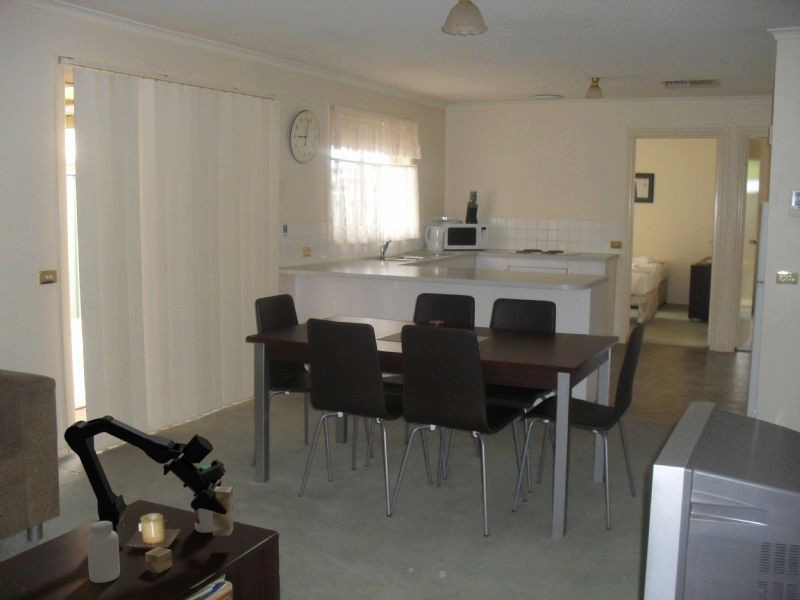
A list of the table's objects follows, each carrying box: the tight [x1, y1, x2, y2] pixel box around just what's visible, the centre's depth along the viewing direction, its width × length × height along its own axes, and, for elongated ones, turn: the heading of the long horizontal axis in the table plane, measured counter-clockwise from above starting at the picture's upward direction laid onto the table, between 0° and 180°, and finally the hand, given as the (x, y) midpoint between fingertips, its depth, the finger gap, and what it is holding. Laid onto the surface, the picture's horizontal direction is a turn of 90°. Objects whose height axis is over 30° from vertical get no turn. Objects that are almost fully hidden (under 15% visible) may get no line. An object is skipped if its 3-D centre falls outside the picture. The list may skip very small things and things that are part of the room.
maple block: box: [212, 485, 234, 537], centre depth 236 cm, size 5×5×13 cm
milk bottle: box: [193, 464, 213, 534], centre depth 250 cm, size 8×8×20 cm
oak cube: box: [144, 546, 173, 574], centre depth 224 cm, size 5×5×5 cm
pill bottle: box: [86, 521, 121, 584], centre depth 218 cm, size 8×8×15 cm
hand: (227, 510), depth 236 cm, fingers closed on maple block, 5 cm apart
